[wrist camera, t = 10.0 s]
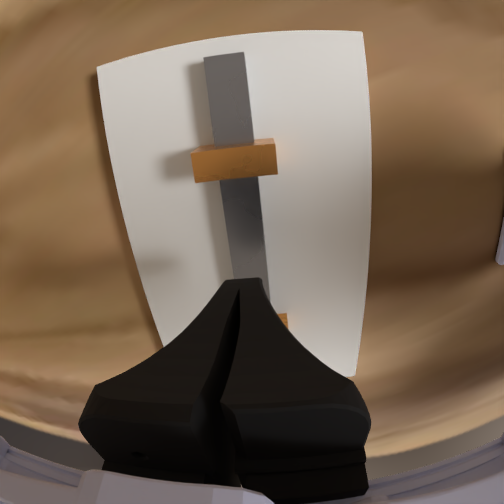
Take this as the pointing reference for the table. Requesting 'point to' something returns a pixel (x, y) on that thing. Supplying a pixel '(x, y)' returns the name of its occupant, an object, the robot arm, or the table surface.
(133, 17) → the table surface
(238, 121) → the din rail
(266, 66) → the rail board
